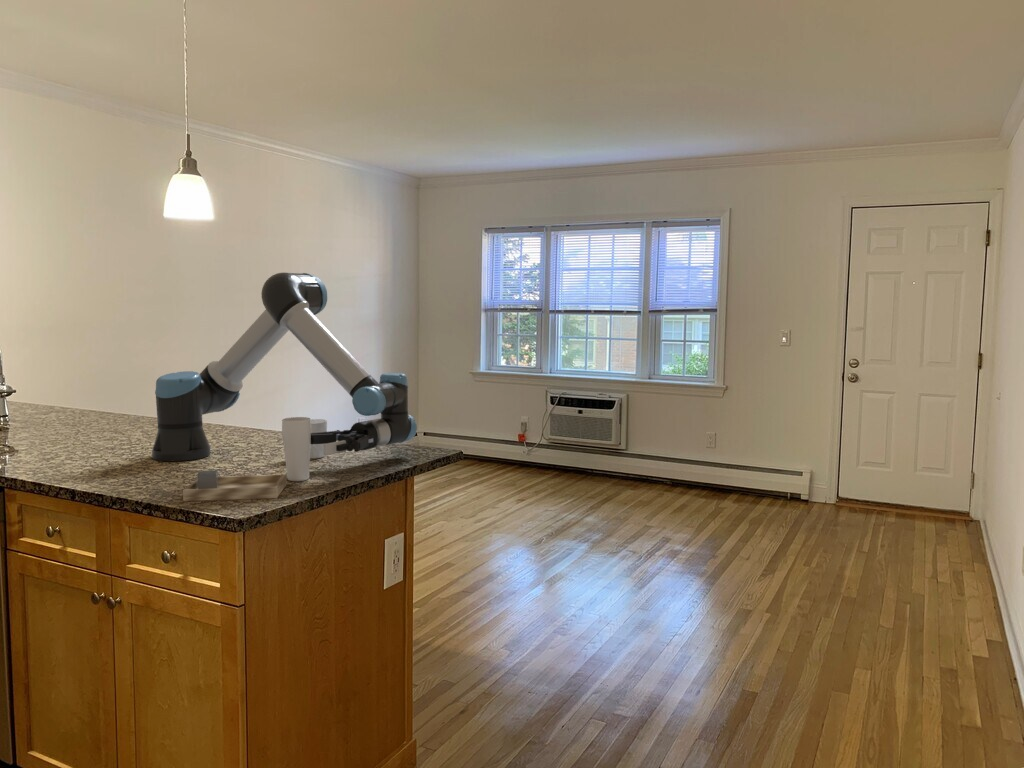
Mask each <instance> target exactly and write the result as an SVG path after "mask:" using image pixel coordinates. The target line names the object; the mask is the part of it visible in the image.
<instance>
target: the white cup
mask: <svg viewBox="0 0 1024 768" xmlns="http://www.w3.org/2000/svg"><path fill="white" fill-rule="evenodd" d="M310 422H311V433H317V432H328V420H326V419H321V418H319V419H317V418H315V419H314V418H312V419H311V418H310ZM325 457H326V456H325V455H324V446H323V444H311V446H310V460H311V459H321V458H325Z"/></svg>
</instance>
